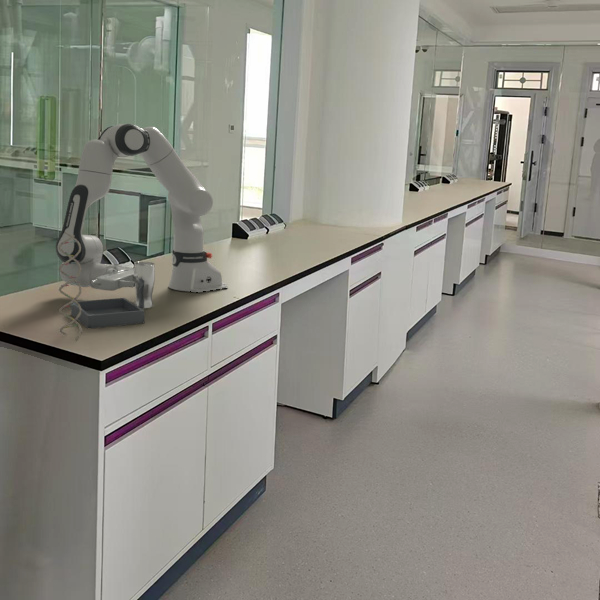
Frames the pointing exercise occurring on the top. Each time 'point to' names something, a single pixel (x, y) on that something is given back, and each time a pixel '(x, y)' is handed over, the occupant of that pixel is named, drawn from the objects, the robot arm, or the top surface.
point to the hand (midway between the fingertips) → (141, 281)
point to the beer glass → (144, 283)
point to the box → (107, 312)
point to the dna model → (71, 284)
